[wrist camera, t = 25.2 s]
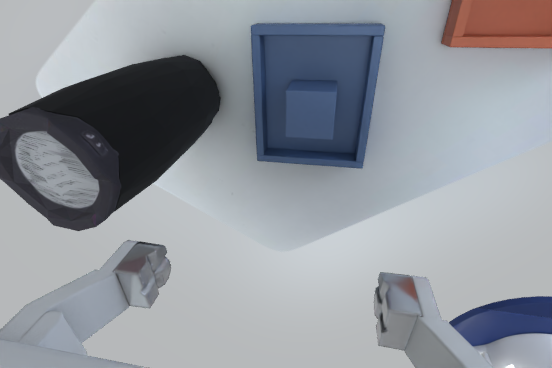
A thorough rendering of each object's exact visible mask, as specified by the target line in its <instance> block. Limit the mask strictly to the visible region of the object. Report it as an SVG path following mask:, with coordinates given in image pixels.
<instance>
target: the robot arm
mask: <svg viewBox="0 0 552 368" xmlns="http://www.w3.org/2000/svg"><path fill="white" fill-rule="evenodd" d="M166 253H167V250H166V247H165V246H164V245H159V244H152V243H146V242H138V241H131V240H127V241H126V242H124V243H123V244H122V245H121V246H120V247H119V248H118V250H117V251H116V252H115V253H114V254H113V255H112V256H111V257H110V258H109V259H108V261H107V262H106V263H105V264H104V265H103V266H102V267H101V268H100V270H94V271H92V272H90V273H88V274H86V275H84V276H82V277H80V278H78V279H76V280H74V281H72V282H70V283H68V284H66V285H64V286H62V287H60V288H58V289H56V290H54V291H52V292H50V293H48V294H46V295H45V296H42V297H41V298H38V299H37V300H35V301H32V302H31V303H29V304H27V305H25V306H24V307H23V308H22V309H21V310H20V311H19V312H18V313H17V314H16V315H15V316H14V317H13V318H12V319H11V320H10V321H9V322H8V323H7V324H6V325H5V326H4V327H3V328H2V329H1V330H0V368H147V367H142V366H137V365H132V364H127V363H122V362H116V361H112V360H107V359H101V358H96V357H91V356H87V352H86V350H85V349H84V347H83V345H82V344H81V343H82V342H84V341H85V340H86V339H88V338H89V337H90V336H92V335H93V334H94V333H96V332H97V331H98V330H99V329H101V328H102V327H104V326H105V325H106V324H108V323H109V322H110V321H112V320H113V319H114V318H116V317H117V316H118V315H119V314H121V313H122V312H123V311H125V310H126V309H127V308H129V306H135V307H143V308H151V306H152V304H153V303H154V301H155V299H156V298H157V296H158V295H159V290H158V288H160V287H162V286H163V285H165V283H166V282H167V280H168V278H169V275H170V271H171V264H170V261H169V260H168V259H167V258H166V257H165V255H166ZM378 283H379V286H378V287H377V288H376V290H375V295H374V313H375V316H376V317H377V319H378V322H377V325H376V330H377V339H378V345H379V346H383V347H389V348H394V349H399V350H404V351H405V353H406V355H407V356H408V357H409V359H410V360H411V362H412V363H413V365H414V366H415V368H552V334H542V333H528V334H519V335H513V336H508V337H505V338H501V339H499V340H496V341H494V342H491V343H489V344H485V345H479V346H472V345H471V344H470V343H469V342H468V341H467V340H465V339H464V338H463V337H462V336H461V335H460V334H459V333H458V332H457V331H456V330H455V329H454V328H453V327H452V326H451V325H450V324H449V323H448V322H447V321H445V320H441V317H440V313H439V310H438V308H437V304H436V301H435V298H434V295H433V292H432V289H431V286H430V283H429V280H428V279H427V278H426V277H418V276H409V275H401V274H393V273H384V272H380V274H379V278H378Z"/></svg>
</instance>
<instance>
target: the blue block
mask: <svg viewBox="0 0 552 368" xmlns="http://www.w3.org/2000/svg"><path fill="white" fill-rule="evenodd" d="M336 96H337V81H334V80H296V79H293V80H292V81H291V83H290V85H289V86H288V88H287V90H286V137H293V138H311V139H328V140H332V139H333V129H334V118H335V107H336Z"/></svg>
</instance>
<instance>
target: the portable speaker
mask: <svg viewBox="0 0 552 368" xmlns="http://www.w3.org/2000/svg"><path fill="white" fill-rule="evenodd" d="M219 105H220V96H219V91H218V89H217V86H216V83H215V81H214V80H213V78H212V77H211V75H210V74H209V72H208V71H207V70H206V68H205V67H204V66H203V64H202V63H201V62H200V61H198V60H195V59H193V58H190V57H188V56H185V55H182V56H176V57H170V58H162V59H157V60H153V61H148V62H143V63H138V64H133V65H130V66H127V67H124V68H121V69H118V70H115V71H112V72H109V73H106V74H103V75H100V76H97V77H94V78H91V79H88V80H85V81H82V82H79V83H77V84H74V85H71V86H68V87H65V88H63V89H61V90H58V91H56V92H54V93H52V94H50V95H48V96H46V97H43V98H41V99H39V100H37V101H35V102H33V103H31V104H29V105H27V106H24V107H22V108H20V109H18V110H16V111H14V112H11V113H9V116H6V117H4V118H1V119H0V179H1V180H3V181H4V182H5V183H6V184H7V185H8V186H9V187H11V188H12V189H13V190H14V191H15V192H16V193H17V194H18V195H20V197H22V198H23V199H24V200H25V201H26V202H27V203H28V204H29V205H31V206H32V207H33V208H35V209H36V210H37V211H38V212H40V213H41V214H42V215H43V216H45V217H46V218H47V219H48V220H49V221H50V222H51V223H52V224H53V225H55V226H59V227H63V228H68V229H72V230H76V231H80V230H85V229H89V228H93V227H96V226H97V225H99V224H100V223H102V222H103V221H105V220H106V219H107V218H108V217H109V216H110V215H111V214H112V213H113V212H114V211H116V210H117V209H118V208H120V207H121V206H123V205H124V204H125V203H127V202H128V201H129V200H131V199H132V198H133V197H135V196H136V195H137V194H139V193H140V192H141V191H143V190H144V189H145V188H147V187H148V186H150V185H151V184H152V183H154V182H155V181H156V180H157V179H158V178H159V177H160V176H161V175H162V174H163V173H165V172H166V171H167V170H168V169H169V168H170V167H171V166H172V165H173V164H174V163H175V162H176V161H177V160H178V159H179V158H180V157H181V156H182V155H183V154H184V153H185V152H186V151H187V150H188V149H189V148H190V147H191V146H192V145H193V144H194V143H195V142H196V141H197V139H198V138H199V137H201V135H202V134H203V133H204V132H205V130H206V129H207V128H208V127H209V125H210V124H211V123H212V120H213V117H214V116H215V115H216V113H217V112H218V111H219Z"/></svg>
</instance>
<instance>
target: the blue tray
mask: <svg viewBox="0 0 552 368" xmlns="http://www.w3.org/2000/svg"><path fill="white" fill-rule="evenodd" d="M384 31H385V26H384V25H383V24H255V25H252V26H251V42H252V63H253V84H254V104H255V125H256V145H257V161H267V162H280V163H294V164H307V165H321V166H335V167H348V168H363V162H364V156H365V150H366V144H367V138H368V131H369V125H370V119H371V113H372V106H373V100H374V94H375V88H376V81H377V75H378V69H379V63H380V56H381V50H382V44H383V36H384ZM293 79H296V80H334V81H337V96H336V107H335V118H334V129H333V139H332V140H328V139H311V138H293V137H286V90H287V88H288V86H289V85H290V83H291V81H292V80H293Z"/></svg>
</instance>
